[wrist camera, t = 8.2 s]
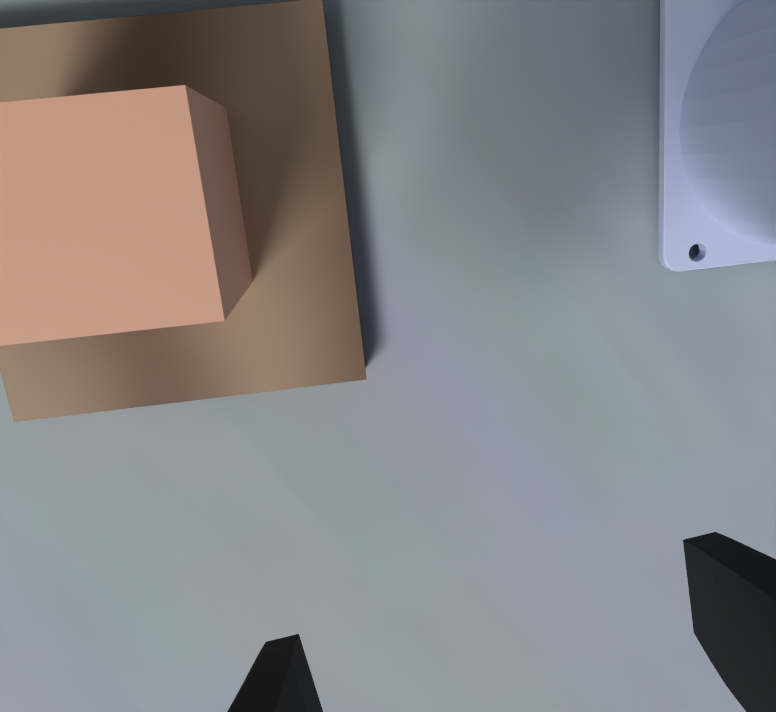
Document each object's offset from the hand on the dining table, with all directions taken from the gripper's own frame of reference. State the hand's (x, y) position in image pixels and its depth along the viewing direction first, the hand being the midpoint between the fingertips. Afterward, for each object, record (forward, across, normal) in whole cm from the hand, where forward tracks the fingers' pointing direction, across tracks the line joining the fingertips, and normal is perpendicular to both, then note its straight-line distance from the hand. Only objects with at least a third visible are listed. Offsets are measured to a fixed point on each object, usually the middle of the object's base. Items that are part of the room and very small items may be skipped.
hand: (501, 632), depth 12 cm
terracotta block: (+8, +6, -9) cm, 13 cm away
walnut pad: (+9, +6, -8) cm, 14 cm away
